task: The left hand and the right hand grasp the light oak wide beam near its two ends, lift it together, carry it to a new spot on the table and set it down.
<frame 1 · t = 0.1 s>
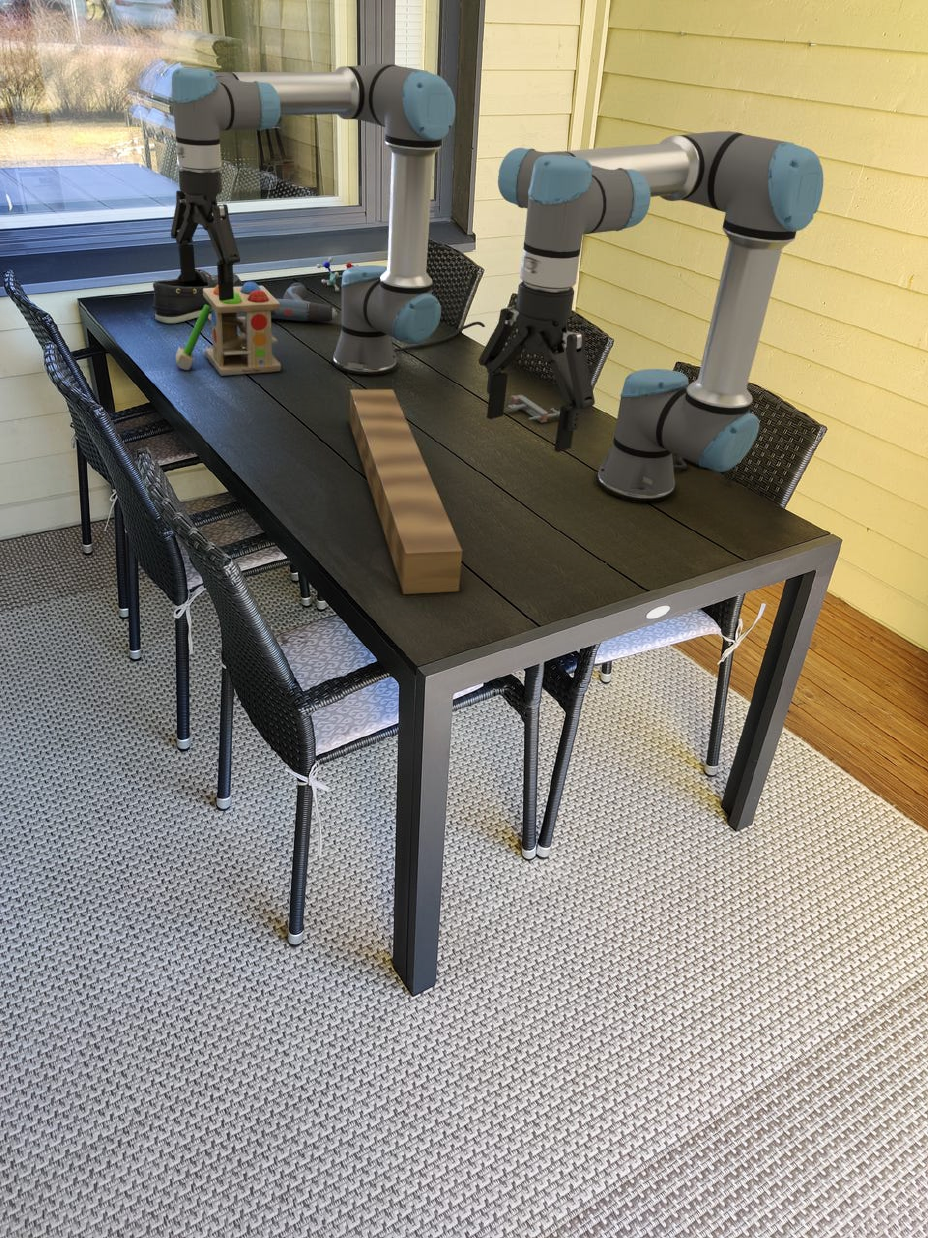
left hand: (207, 289, 186), 28 cm above the table, tool pointing down, fingers open, 13 cm apart
right hand: (527, 432, 143), 28 cm above the table, tool pointing down, fingers open, 13 cm apart
power drill: (305, 313, 267), on the table
pounding bench toy: (225, 365, 230), on the table
molecular model: (335, 287, 289), on the table
boat shoe: (200, 307, 263), on the table
clamp: (534, 416, 220), on the table
wide beam: (396, 495, 183), on the table
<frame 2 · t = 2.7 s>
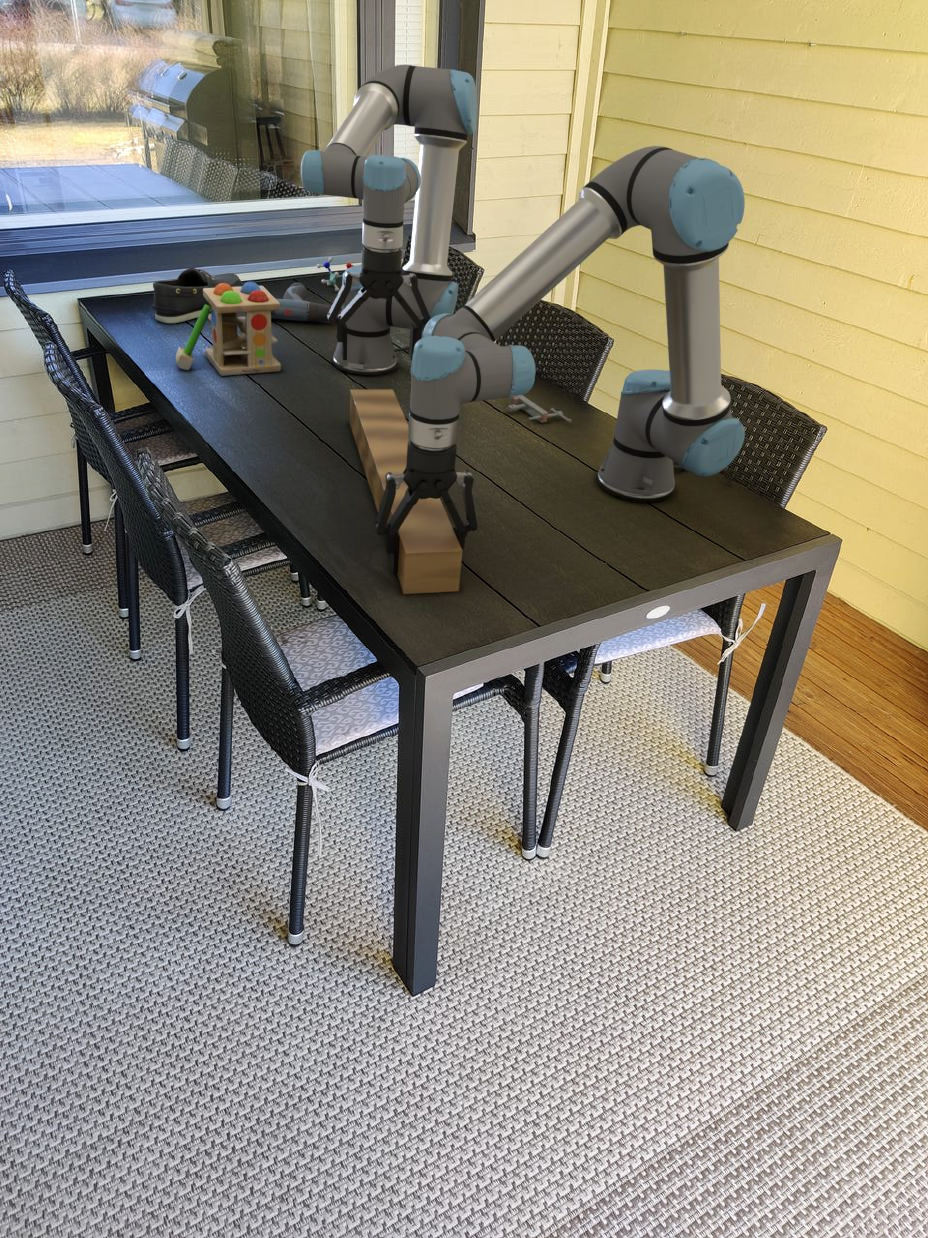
left hand: (378, 358, 195), 17 cm above the table, tool pointing down, fingers open, 13 cm apart
right hand: (423, 567, 162), 1 cm above the table, tool pointing down, fingers closed on wide beam, 9 cm apart
wide beam: (396, 495, 183), on the table, touching right hand
everything else where it was.
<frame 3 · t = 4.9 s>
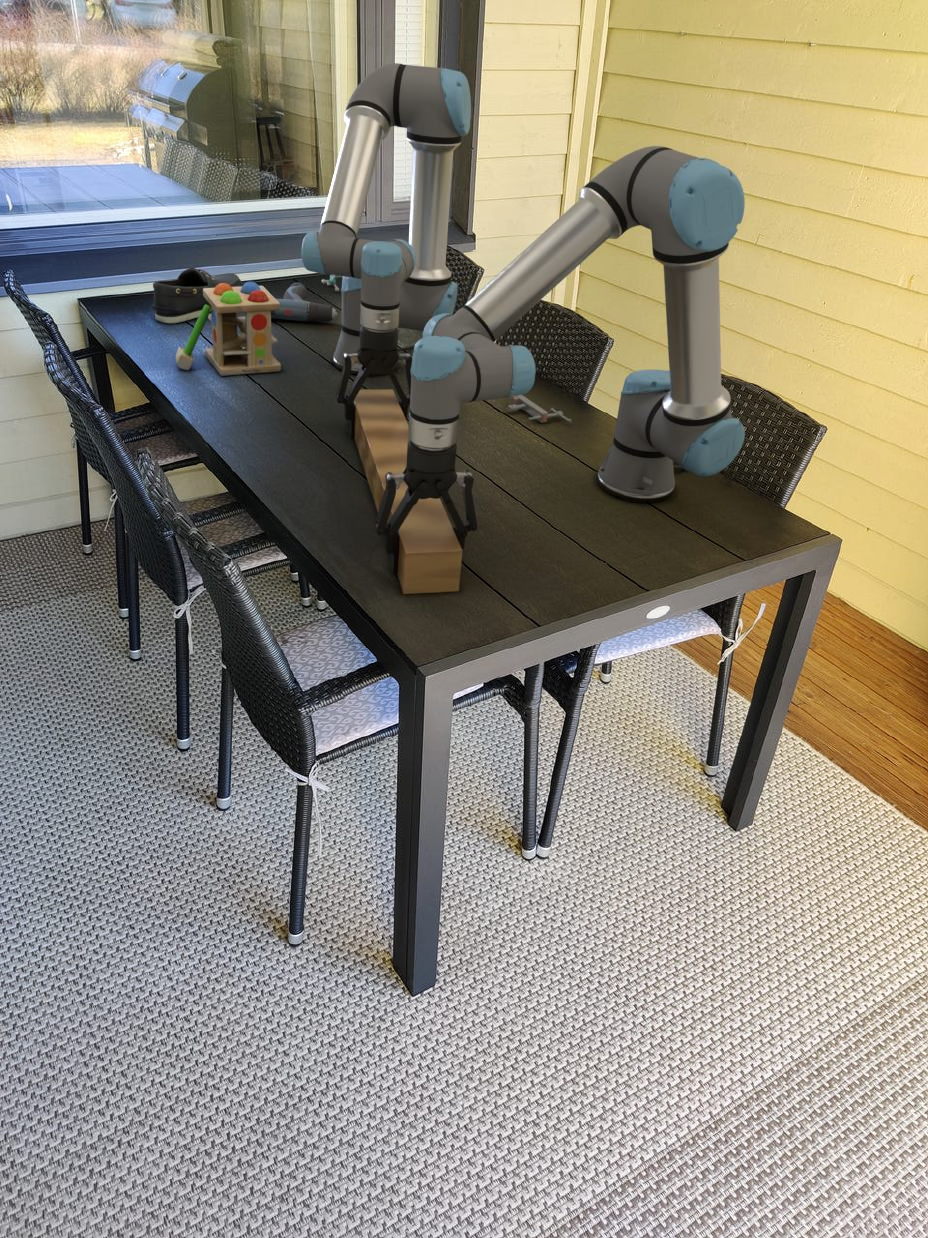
left hand: (375, 433, 204), 1 cm above the table, tool pointing down, fingers closed on wide beam, 9 cm apart
right hand: (423, 567, 162), 1 cm above the table, tool pointing down, fingers closed on wide beam, 9 cm apart
wide beam: (396, 495, 183), on the table, touching left hand, right hand
everything else where it was.
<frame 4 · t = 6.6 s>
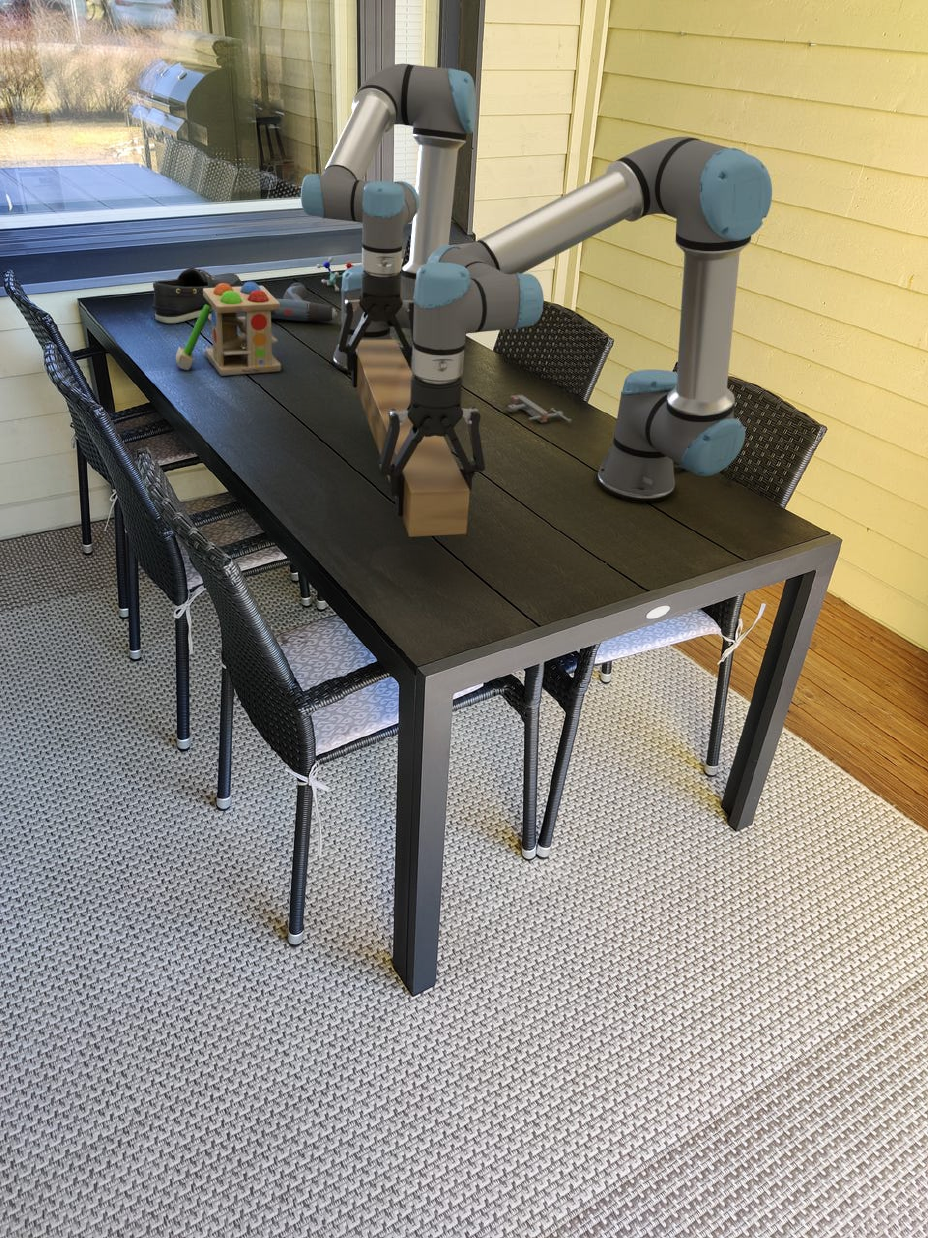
left hand: (378, 384, 198), 11 cm above the table, tool pointing down, fingers closed on wide beam, 9 cm apart
right hand: (429, 510, 156), 11 cm above the table, tool pointing down, fingers closed on wide beam, 9 cm apart
wide beam: (400, 443, 178), point 10 cm above the table, touching left hand, right hand
everything else where it was.
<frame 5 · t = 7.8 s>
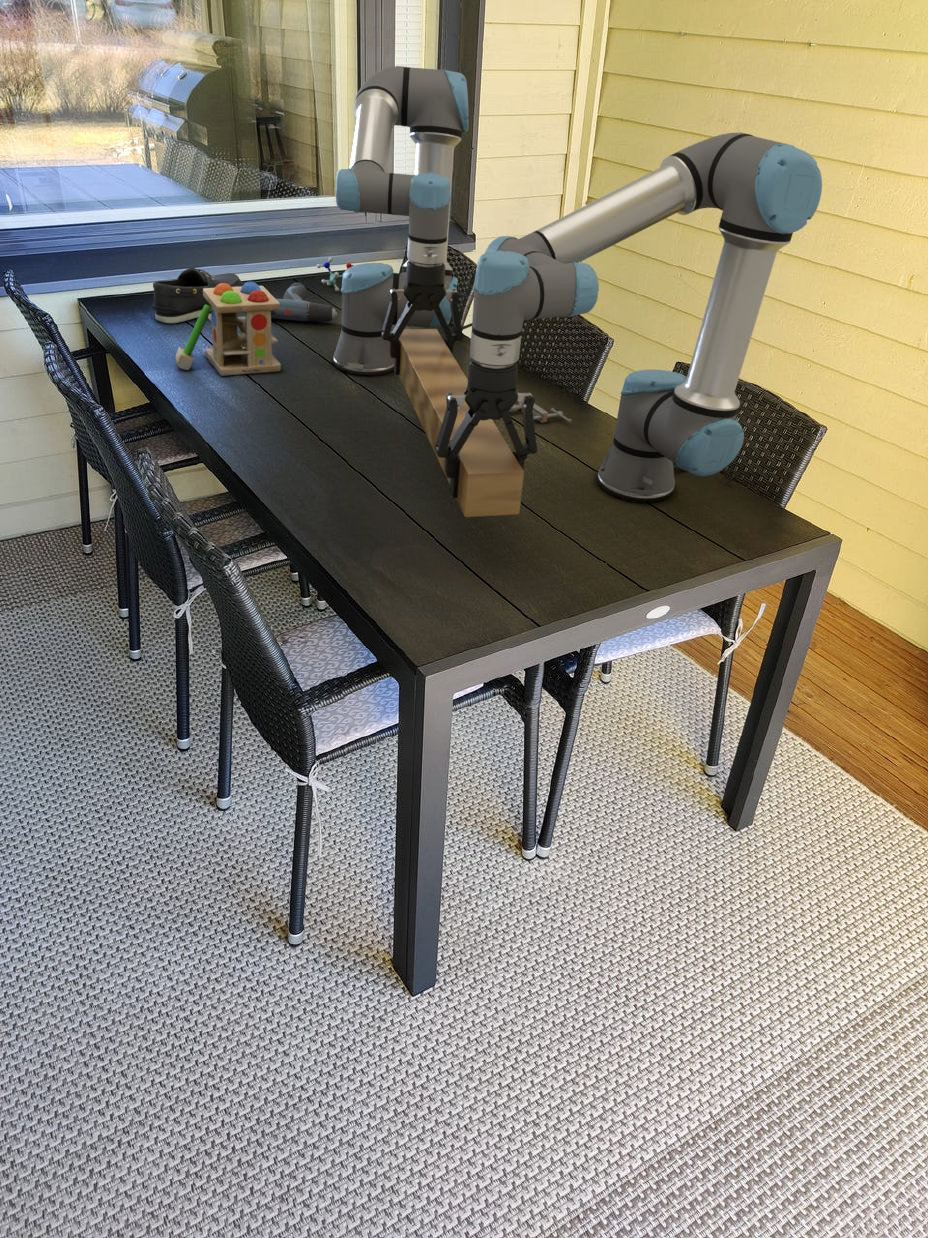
left hand: (420, 372, 204), 12 cm above the table, tool pointing down, fingers closed on wide beam, 9 cm apart
right hand: (482, 492, 161), 12 cm above the table, tool pointing down, fingers closed on wide beam, 9 cm apart
wide beam: (447, 428, 183), point 11 cm above the table, touching left hand, right hand
everything else where it was.
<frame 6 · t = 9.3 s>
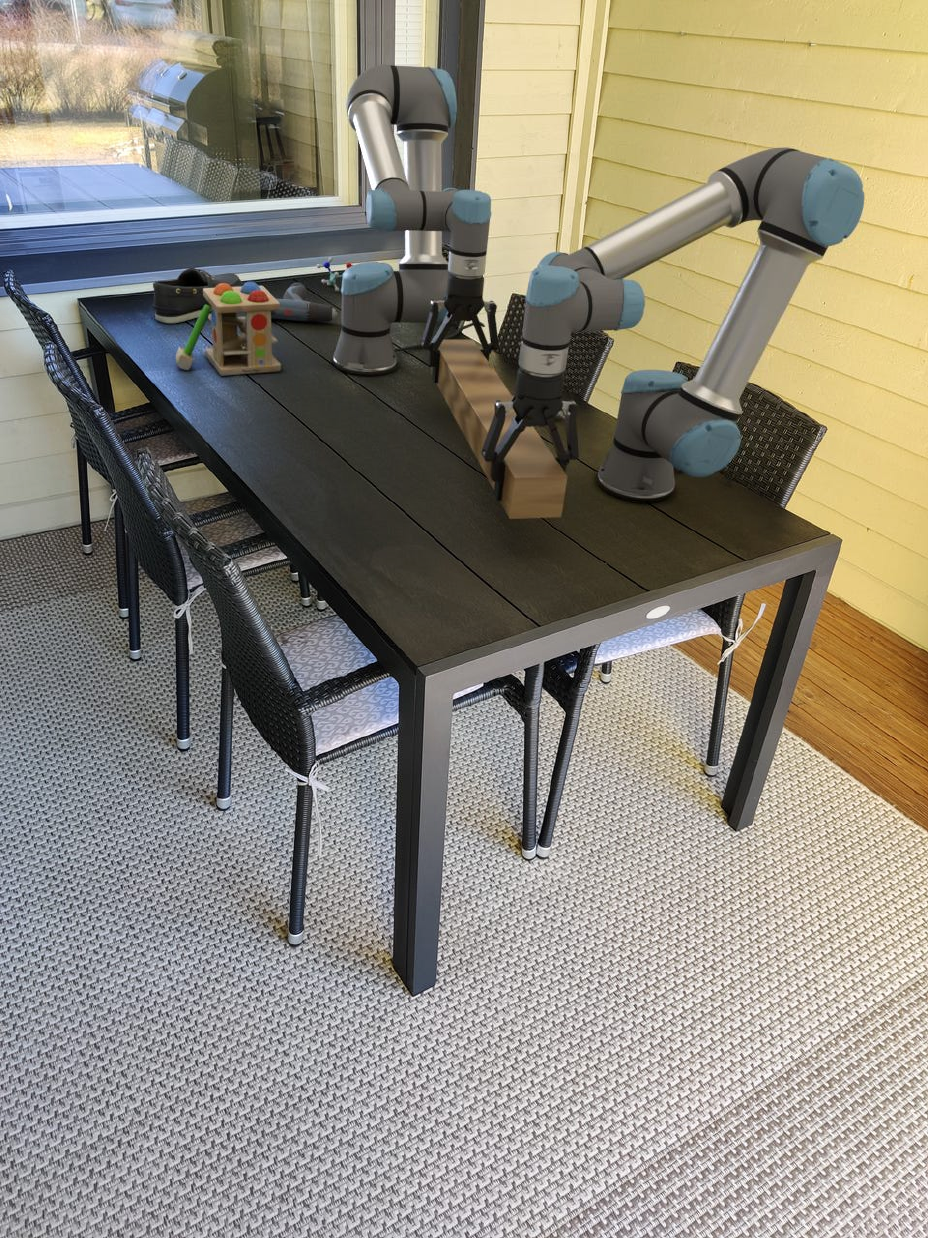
left hand: (457, 380, 211), 9 cm above the table, tool pointing down, fingers closed on wide beam, 9 cm apart
right hand: (524, 496, 168), 9 cm above the table, tool pointing down, fingers closed on wide beam, 9 cm apart
wide beam: (487, 435, 190), point 8 cm above the table, touching left hand, right hand
everything else where it was.
when the left hand's fingers open (2 cm above the table, at t = 10.5 s): wide beam drops 2 cm, on the table.
when the right hand's fingers open (2 cm above the table, at t = 10.5 s): wide beam drops 2 cm, on the table.
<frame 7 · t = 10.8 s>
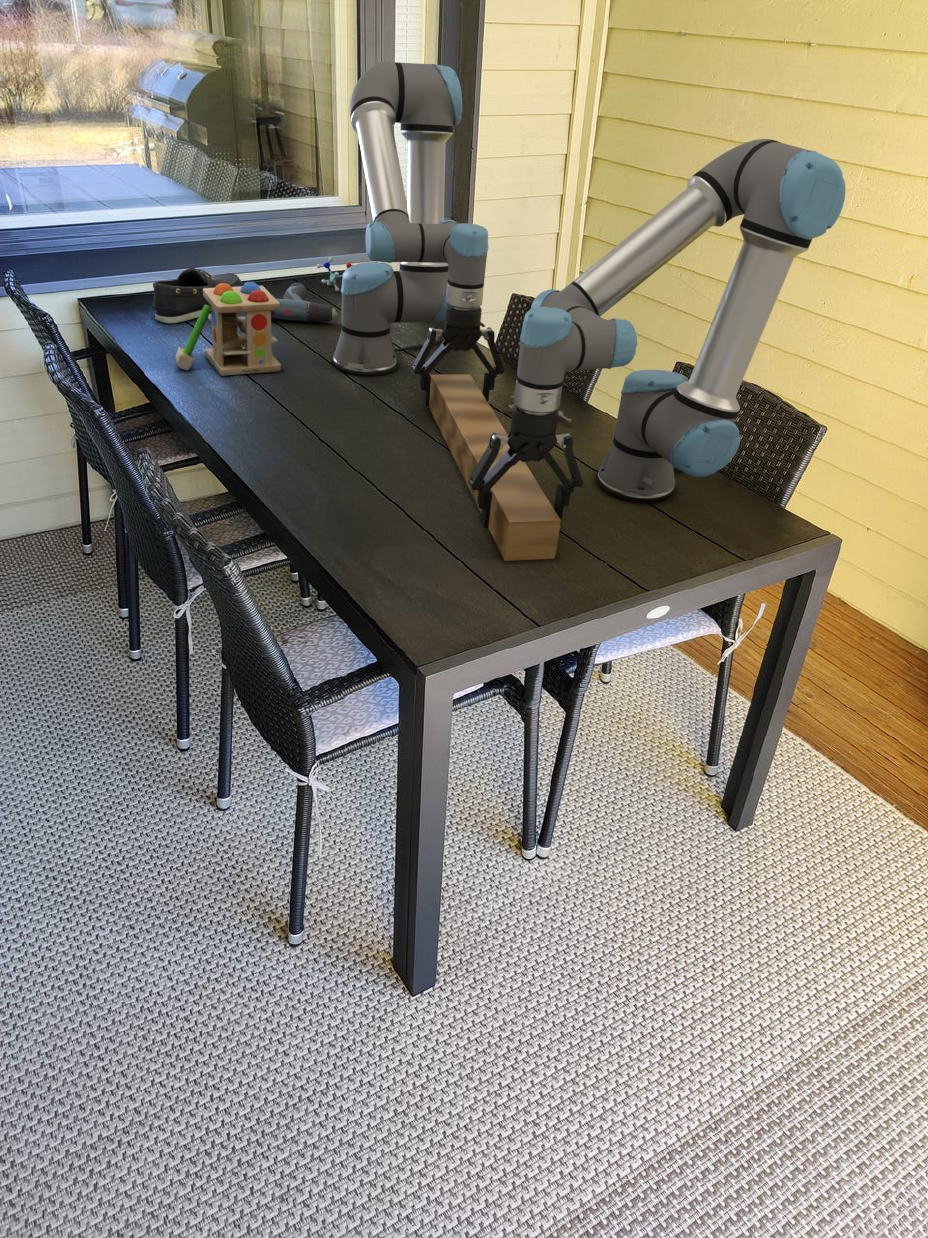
left hand: (455, 403, 214), 3 cm above the table, tool pointing down, fingers open, 12 cm apart
right hand: (520, 523, 171), 3 cm above the table, tool pointing down, fingers open, 12 cm apart
wide beam: (483, 472, 194), on the table
everything else where it was.
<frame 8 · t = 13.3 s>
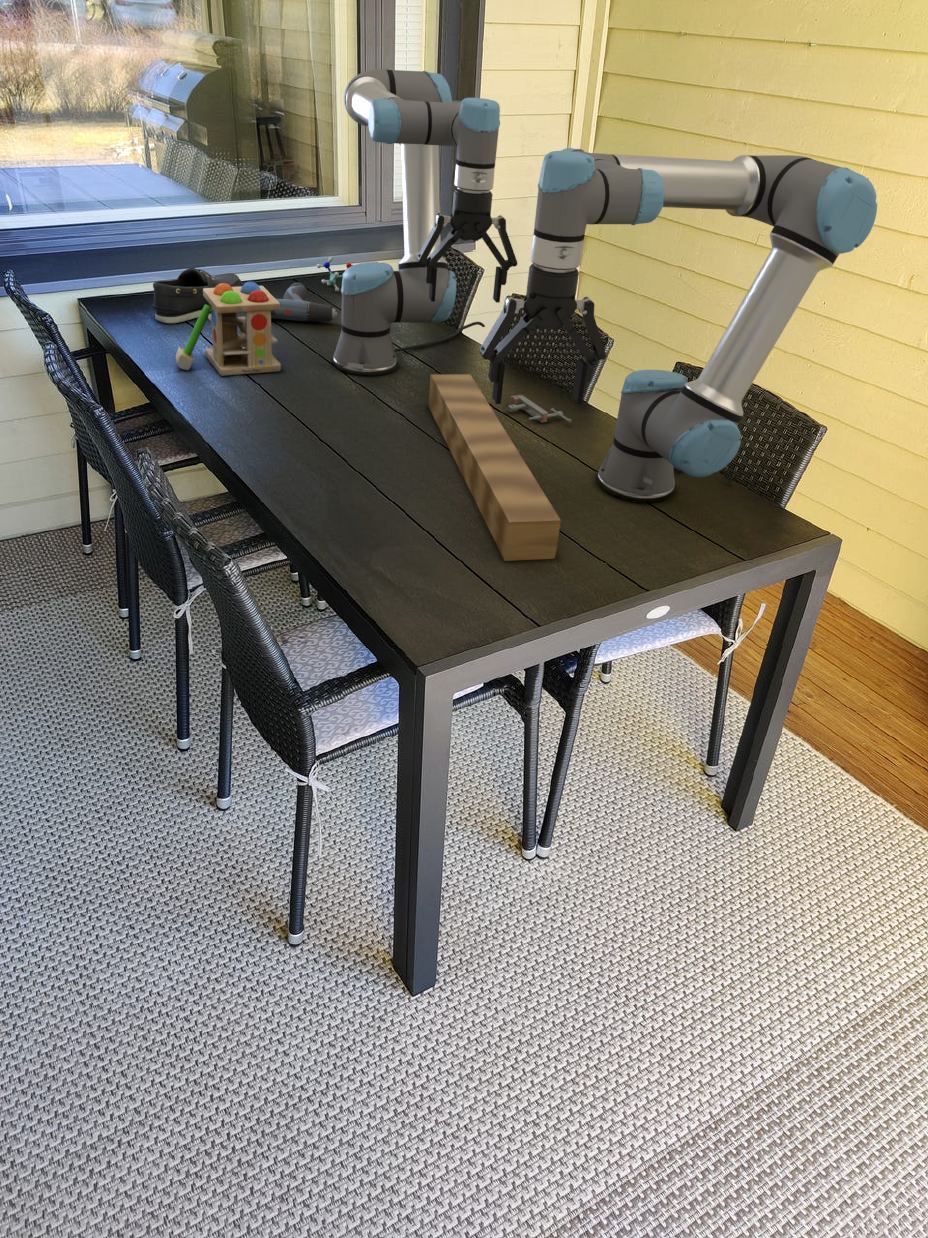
left hand: (464, 300, 201), 26 cm above the table, tool pointing down, fingers open, 13 cm apart
right hand: (536, 400, 158), 26 cm above the table, tool pointing down, fingers open, 13 cm apart
nothing on the table moved.
at the end: wide beam inside the target area (0.1 cm from its centre), on the table; wide beam tilted 0°; wide beam never tilted more than 1° during the clip; both hands held the wide beam at the same time; the left hand is holding nothing; the right hand is holding nothing; wide beam at rest at the end (0.0 cm/s) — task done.
